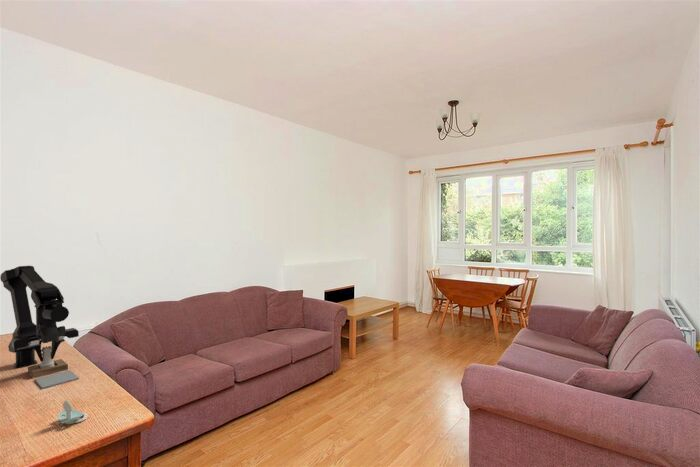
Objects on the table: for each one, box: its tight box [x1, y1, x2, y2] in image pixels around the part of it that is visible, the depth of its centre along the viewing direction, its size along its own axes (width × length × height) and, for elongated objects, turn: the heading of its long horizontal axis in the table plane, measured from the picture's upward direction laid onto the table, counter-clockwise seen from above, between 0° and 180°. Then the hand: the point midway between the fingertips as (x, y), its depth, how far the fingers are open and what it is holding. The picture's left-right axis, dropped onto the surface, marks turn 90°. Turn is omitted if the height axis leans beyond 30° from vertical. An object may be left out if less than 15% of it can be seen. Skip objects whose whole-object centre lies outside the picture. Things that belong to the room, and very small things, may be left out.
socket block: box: [27, 358, 69, 379], centre depth 132 cm, size 10×10×2 cm
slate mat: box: [34, 369, 80, 390], centre depth 124 cm, size 12×10×1 cm
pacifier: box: [57, 399, 88, 425], centre depth 96 cm, size 7×6×6 cm
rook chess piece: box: [39, 345, 55, 369], centre depth 132 cm, size 4×4×8 cm
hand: (46, 360), depth 132 cm, fingers closed on rook chess piece, 3 cm apart
